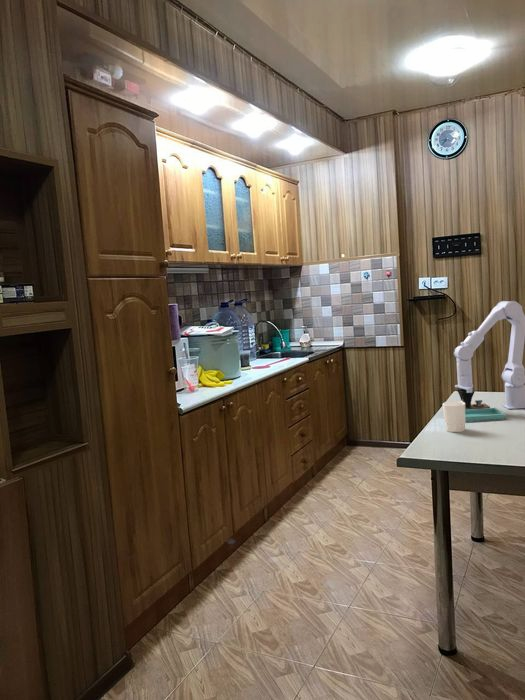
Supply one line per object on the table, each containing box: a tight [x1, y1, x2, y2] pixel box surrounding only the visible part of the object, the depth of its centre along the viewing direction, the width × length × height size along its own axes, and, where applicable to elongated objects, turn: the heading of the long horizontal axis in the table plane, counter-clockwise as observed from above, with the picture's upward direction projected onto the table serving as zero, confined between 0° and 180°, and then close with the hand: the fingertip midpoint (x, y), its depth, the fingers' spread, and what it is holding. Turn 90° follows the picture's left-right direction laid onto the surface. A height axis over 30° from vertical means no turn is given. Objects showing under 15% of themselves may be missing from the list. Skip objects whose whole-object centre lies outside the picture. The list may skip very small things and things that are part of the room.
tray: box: [465, 407, 506, 423], centre depth 217 cm, size 16×12×2 cm
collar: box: [462, 399, 491, 410], centre depth 228 cm, size 10×7×5 cm
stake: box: [474, 399, 483, 407], centre depth 228 cm, size 3×2×4 cm
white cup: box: [442, 400, 466, 433], centre depth 202 cm, size 8×8×10 cm
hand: (466, 406), depth 229 cm, fingers closed on collar, 2 cm apart
